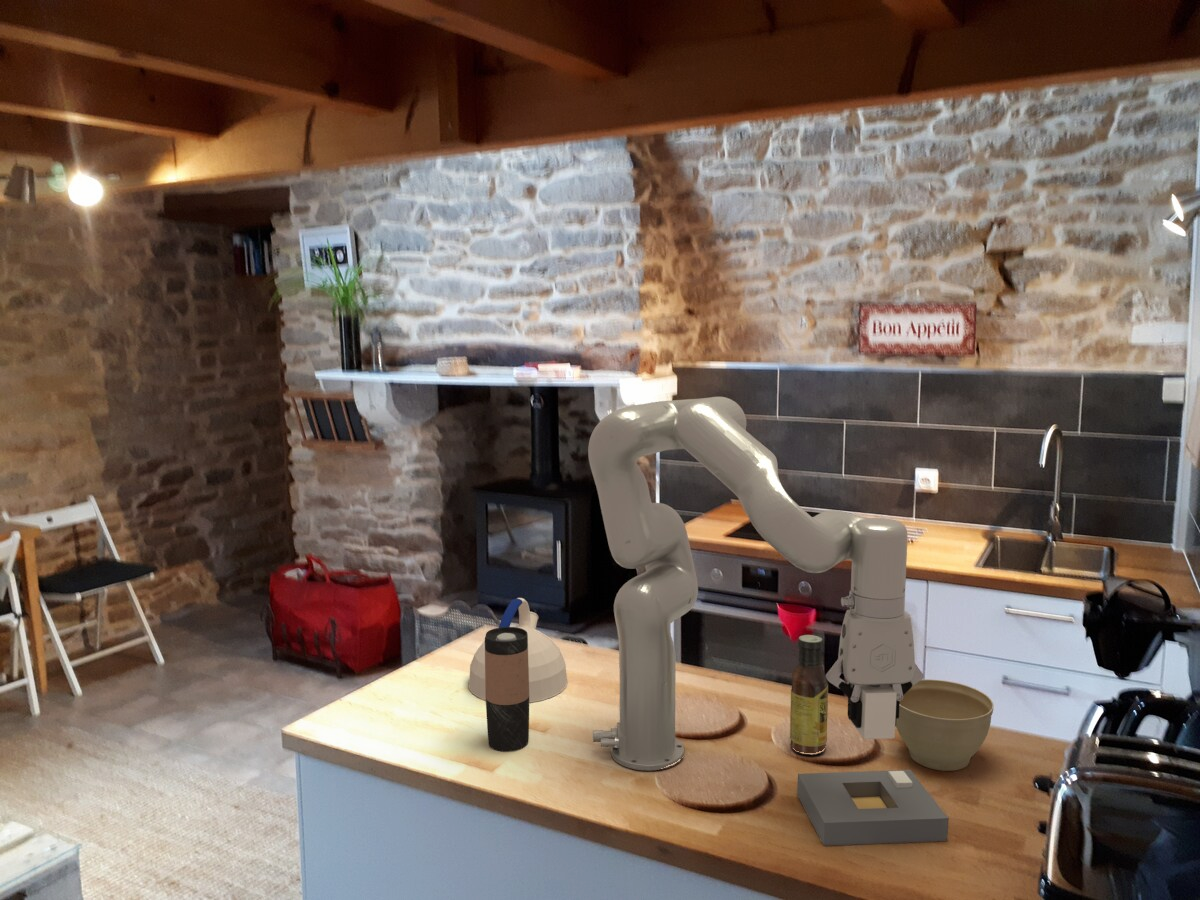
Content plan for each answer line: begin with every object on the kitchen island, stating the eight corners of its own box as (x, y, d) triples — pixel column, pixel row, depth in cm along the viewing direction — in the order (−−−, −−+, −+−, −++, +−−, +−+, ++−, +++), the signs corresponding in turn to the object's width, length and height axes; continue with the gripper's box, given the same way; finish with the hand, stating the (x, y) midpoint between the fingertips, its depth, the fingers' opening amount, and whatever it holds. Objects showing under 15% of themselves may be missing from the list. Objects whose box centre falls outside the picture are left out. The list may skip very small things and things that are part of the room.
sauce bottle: (827, 759, 156) (830, 647, 153) (789, 755, 157) (792, 644, 154) (825, 741, 162) (829, 633, 159) (789, 738, 164) (792, 631, 161)
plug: (864, 739, 133) (866, 683, 132) (850, 720, 139) (852, 666, 138) (894, 738, 133) (897, 682, 132) (879, 719, 139) (882, 665, 138)
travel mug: (539, 741, 163) (537, 633, 160) (506, 757, 157) (504, 645, 154) (510, 728, 168) (508, 623, 165) (477, 743, 163) (474, 634, 160)
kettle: (579, 669, 196) (578, 587, 193) (552, 710, 176) (550, 619, 173) (489, 661, 201) (487, 581, 198) (452, 700, 181) (450, 611, 178)
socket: (823, 845, 131) (824, 817, 130) (797, 794, 145) (797, 768, 144) (947, 840, 132) (948, 812, 131) (909, 790, 146) (910, 765, 145)
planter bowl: (898, 729, 167) (900, 672, 165) (994, 749, 159) (998, 689, 158) (879, 768, 153) (882, 706, 151) (984, 791, 145) (988, 726, 144)
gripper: (827, 614, 129) (824, 737, 132) (945, 611, 130) (939, 732, 133) (812, 597, 136) (809, 714, 139) (923, 594, 137) (918, 710, 140)
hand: (872, 722), depth 136 cm, fingers closed on plug, 4 cm apart
